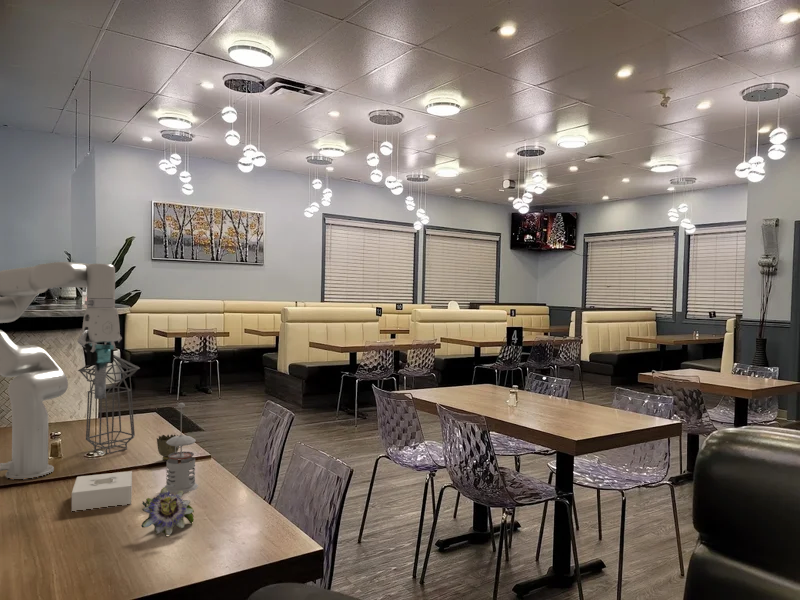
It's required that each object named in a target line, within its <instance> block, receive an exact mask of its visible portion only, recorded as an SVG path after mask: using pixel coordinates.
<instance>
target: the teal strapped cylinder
mask: <svg viewBox="0 0 800 600" xmlns="http://www.w3.org/2000/svg"><path fill="white" fill-rule="evenodd" d="M91 346H92V344H91ZM111 349H114V345H105V344H103V343H102V344H100V343H97V345H96V349H95V351H94V352H96V353H97V364H96V365H95V368H94V369H95V372H94V373H95V376H94V378H95V385H94V390H95V391H94V393H95V394H94V399H96V400H100V399H102V400H103V399H105V398H106V393H107V391H106V390H107V389H106V388H107V386H106V385H107V378H106V372H107V369H106V362H111Z"/></svg>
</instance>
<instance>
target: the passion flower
mask: <svg viewBox="0 0 800 600" xmlns="http://www.w3.org/2000/svg"><path fill="white" fill-rule="evenodd" d="M164 487H165V486H163V487H162V488H161V490H160V492H159V493H158V494H157V495H156V497H155V496H154V497H153V498H152V497H151V498H149V497H147V498H145V500H142V505H143V506H144V507H143V508H142V509H141V510H142V512H145V513H146V514H148V517H147V518H146V519H145V520H144V521H143V522H142V523H141V528H148V527H150V526H152V525H153V526H154V532H155V535H156V536H159V535H160V534H161V533H163V534H165V536H166V535H170V534H171V535H172V533H173V529H174V527H178V529H184V528H185V519H184V518H186V520H187V521H188V522H189V524H190V523H191V525H193V523H194V520H195V519H194V516H195V515H194V514H193V513H195V509H194V508H193V507H192V506H191V500H189V499H184V498H182V497H183V494H184V493H183V491H179V492H177V493H170V492H168V491H167V489H166V488H164ZM192 522H193V523H192ZM171 535H170V536H171Z"/></svg>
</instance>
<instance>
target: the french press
mask: <svg viewBox="0 0 800 600" xmlns="http://www.w3.org/2000/svg"><path fill="white" fill-rule="evenodd" d="M177 404H178V405H177V408H180V434H178V436H177V435H176V436H175V437H172V438H171V439H169V440H168V441H167V442H166V443H167V444H168V445H171V446H175V453H171V454H169V455H168V458H170V459H168V460H167V461H166V469H165V471H166V478H165V479H166V480H165V481H166V483H165V484H166V485H164V486H163V487H164V488H166V489H167V491H168V492H170V494H175V493H177V492H179V491H183V494H184V493H185V494H186V493H190V492H192V490H193V491H195V490H197V489H198V488H199V484H198V483H196V478H195V477H196V458H195V457H194V455H195V453H194V452H192V451H183V449H182V448H183V447H184V446H191V445H194V444H195V442H196V438H194V437H192V436H189V435H183V433H182V430H183V429H182V424H183V422H182V421H183V420H182V419H183V418H182V417H183V411H182V410H183V408H184V407H186V405H185V403H184V402H179V403H177ZM177 446H179V447H177ZM176 447H177V448H180V451H177V452H176ZM179 461H180V463H179ZM197 487H198V488H197ZM189 491H190V492H189Z"/></svg>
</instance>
